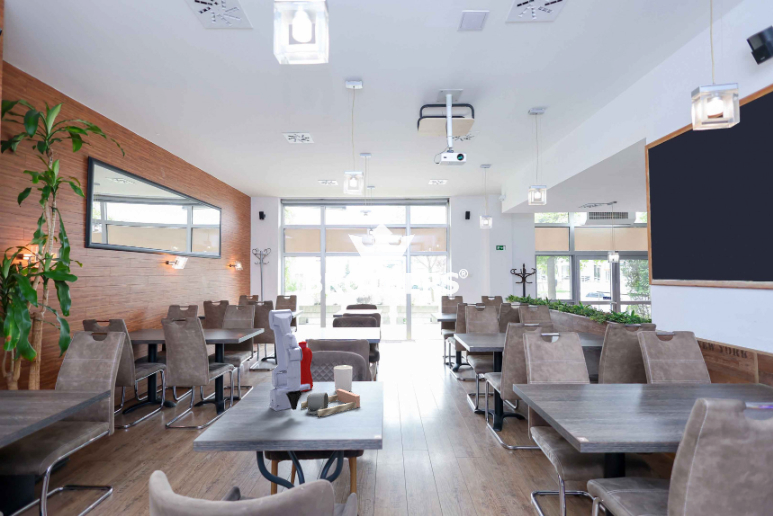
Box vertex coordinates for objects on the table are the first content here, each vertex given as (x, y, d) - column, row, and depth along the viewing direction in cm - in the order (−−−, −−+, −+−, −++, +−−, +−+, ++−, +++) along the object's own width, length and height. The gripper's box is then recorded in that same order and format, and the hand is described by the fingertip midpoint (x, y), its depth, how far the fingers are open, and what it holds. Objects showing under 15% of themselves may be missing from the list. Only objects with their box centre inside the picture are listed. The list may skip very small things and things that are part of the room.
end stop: (356, 407, 189) (356, 396, 189) (336, 400, 202) (336, 389, 202) (359, 406, 190) (359, 395, 190) (340, 399, 203) (340, 388, 203)
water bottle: (296, 386, 228) (296, 339, 229) (315, 388, 225) (314, 340, 226) (287, 391, 219) (287, 342, 220) (306, 392, 216) (306, 343, 217)
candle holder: (356, 391, 216) (355, 367, 217) (338, 394, 211) (338, 370, 212) (348, 387, 225) (347, 364, 225) (330, 390, 220) (330, 366, 220)
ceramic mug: (311, 407, 191) (311, 390, 191) (329, 407, 190) (328, 390, 190) (303, 415, 181) (302, 397, 181) (321, 416, 179) (321, 397, 180)
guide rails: (319, 417, 177) (319, 410, 177) (301, 408, 190) (301, 402, 190) (356, 407, 189) (356, 402, 189) (336, 400, 202) (336, 394, 202)
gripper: (281, 381, 172) (281, 415, 172) (313, 375, 181) (313, 407, 181) (274, 378, 178) (274, 411, 177) (305, 372, 187) (305, 404, 186)
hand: (293, 409), depth 179 cm, fingers closed
